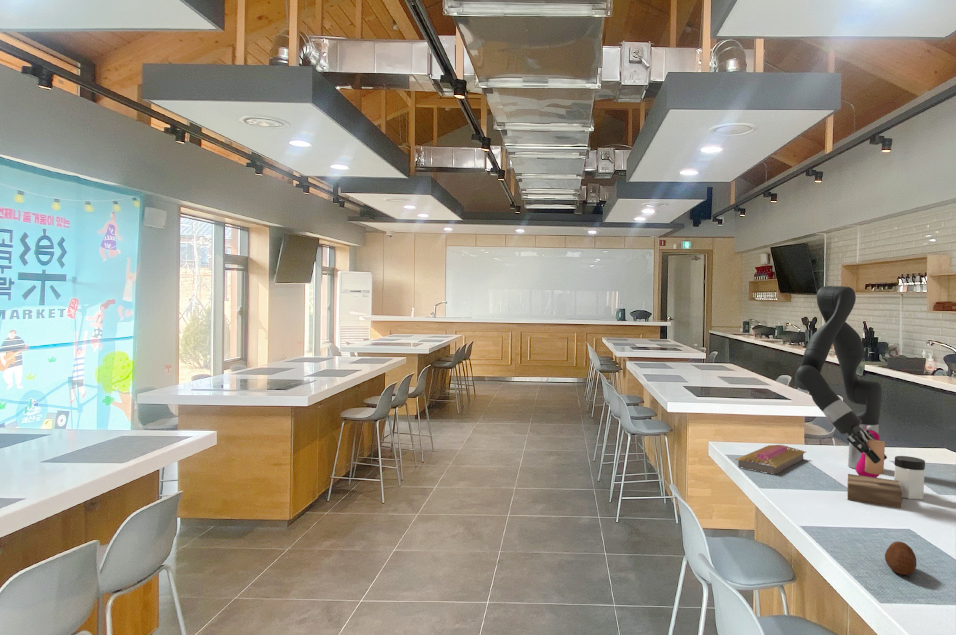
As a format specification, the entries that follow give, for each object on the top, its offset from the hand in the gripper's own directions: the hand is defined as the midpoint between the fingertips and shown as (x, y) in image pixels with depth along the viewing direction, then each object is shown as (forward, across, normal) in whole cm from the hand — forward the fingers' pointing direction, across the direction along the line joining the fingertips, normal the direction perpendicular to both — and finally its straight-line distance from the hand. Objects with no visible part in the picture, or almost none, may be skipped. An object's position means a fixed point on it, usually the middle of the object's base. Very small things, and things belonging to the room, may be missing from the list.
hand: (881, 460), depth 196 cm
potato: (+25, -57, -6) cm, 63 cm away
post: (+2, 0, +4) cm, 5 cm away
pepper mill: (+2, +18, +15) cm, 24 cm away
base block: (+7, 0, +10) cm, 12 cm away
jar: (+12, +13, +6) cm, 18 cm away
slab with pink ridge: (-20, +16, +39) cm, 46 cm away
